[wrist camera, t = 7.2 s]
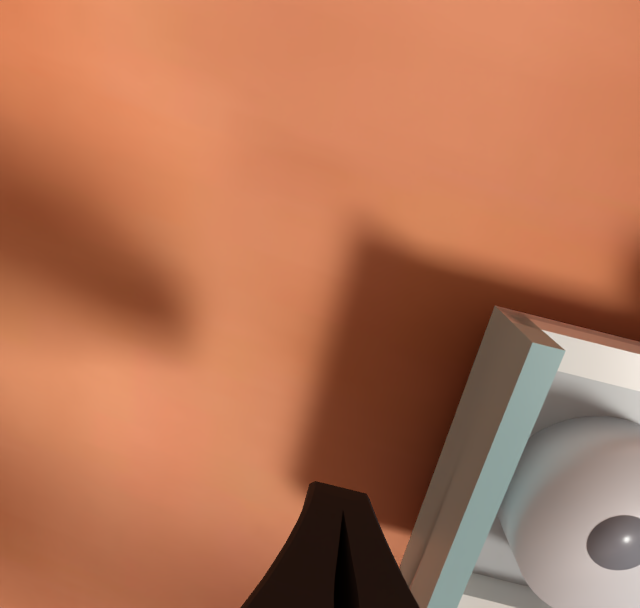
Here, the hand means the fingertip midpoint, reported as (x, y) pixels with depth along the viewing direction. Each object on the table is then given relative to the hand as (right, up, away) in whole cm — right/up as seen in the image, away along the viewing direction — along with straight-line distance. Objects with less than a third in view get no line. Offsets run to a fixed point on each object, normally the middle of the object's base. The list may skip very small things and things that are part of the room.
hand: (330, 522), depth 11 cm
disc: (+8, -1, +4) cm, 9 cm away
